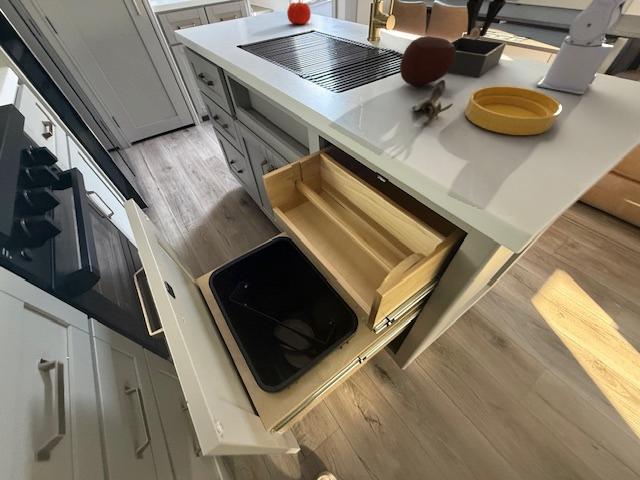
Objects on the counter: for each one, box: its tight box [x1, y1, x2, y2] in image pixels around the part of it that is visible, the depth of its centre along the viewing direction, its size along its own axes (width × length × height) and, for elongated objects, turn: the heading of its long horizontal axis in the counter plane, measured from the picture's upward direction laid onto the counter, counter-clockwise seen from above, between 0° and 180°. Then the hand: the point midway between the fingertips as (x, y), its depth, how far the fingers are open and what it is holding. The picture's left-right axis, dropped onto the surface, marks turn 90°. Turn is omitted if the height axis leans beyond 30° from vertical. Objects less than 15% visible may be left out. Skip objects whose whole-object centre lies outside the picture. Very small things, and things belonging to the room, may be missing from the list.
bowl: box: [464, 85, 563, 136], centre depth 54 cm, size 16×16×4 cm
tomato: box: [286, 1, 311, 25], centre depth 125 cm, size 11×11×8 cm
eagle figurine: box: [411, 79, 454, 126], centre depth 55 cm, size 8×7×9 cm
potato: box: [399, 35, 456, 87], centre depth 66 cm, size 11×13×10 cm
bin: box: [447, 36, 507, 79], centre depth 76 cm, size 13×15×5 cm
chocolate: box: [469, 21, 483, 40], centre depth 72 cm, size 3×2×4 cm
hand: (475, 35), depth 73 cm, fingers closed on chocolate, 3 cm apart
